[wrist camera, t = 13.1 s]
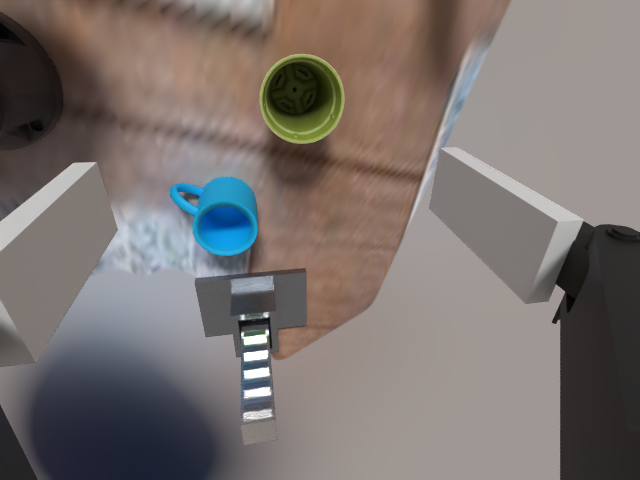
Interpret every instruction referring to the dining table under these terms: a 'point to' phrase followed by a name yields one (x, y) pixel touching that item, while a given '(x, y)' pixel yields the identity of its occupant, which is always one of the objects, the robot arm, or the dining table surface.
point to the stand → (252, 303)
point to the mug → (221, 214)
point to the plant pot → (302, 99)
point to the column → (256, 386)
